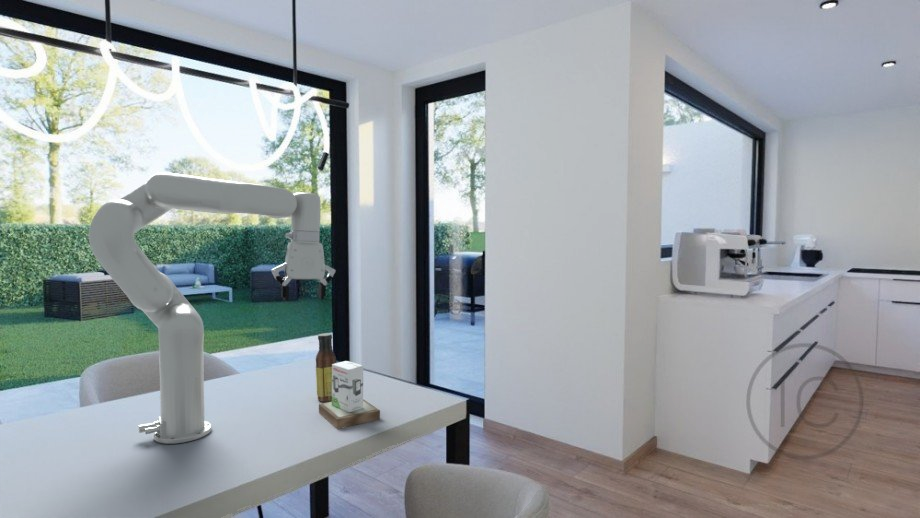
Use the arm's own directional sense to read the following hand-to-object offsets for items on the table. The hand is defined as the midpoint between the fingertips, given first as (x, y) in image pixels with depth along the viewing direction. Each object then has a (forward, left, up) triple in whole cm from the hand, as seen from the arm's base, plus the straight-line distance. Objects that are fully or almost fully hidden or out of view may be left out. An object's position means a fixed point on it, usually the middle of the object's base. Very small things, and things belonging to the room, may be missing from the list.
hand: (303, 299), depth 140 cm
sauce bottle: (+9, +8, -32) cm, 34 cm away
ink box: (+9, -10, -29) cm, 32 cm away
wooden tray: (+9, -9, -32) cm, 34 cm away
